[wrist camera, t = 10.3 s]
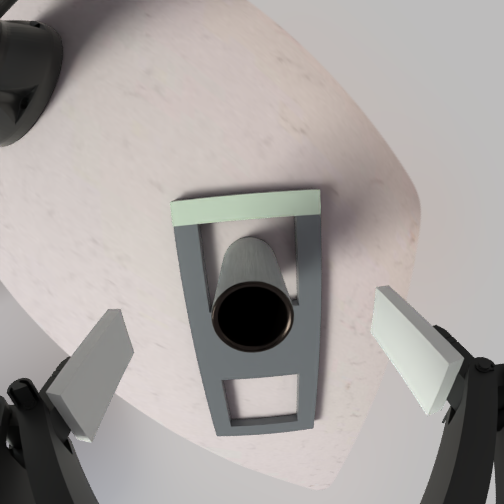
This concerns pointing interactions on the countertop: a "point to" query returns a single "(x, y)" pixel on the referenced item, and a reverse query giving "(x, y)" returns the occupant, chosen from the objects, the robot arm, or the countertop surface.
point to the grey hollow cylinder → (251, 298)
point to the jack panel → (305, 307)
